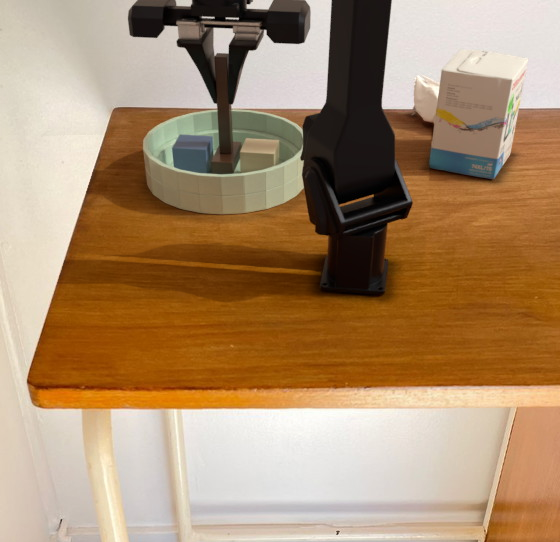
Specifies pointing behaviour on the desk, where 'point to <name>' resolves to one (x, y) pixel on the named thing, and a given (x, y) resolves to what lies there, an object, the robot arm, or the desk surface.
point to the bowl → (225, 187)
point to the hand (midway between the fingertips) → (224, 102)
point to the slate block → (193, 153)
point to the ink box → (477, 112)
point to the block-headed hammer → (224, 122)
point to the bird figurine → (426, 98)
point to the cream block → (258, 154)
